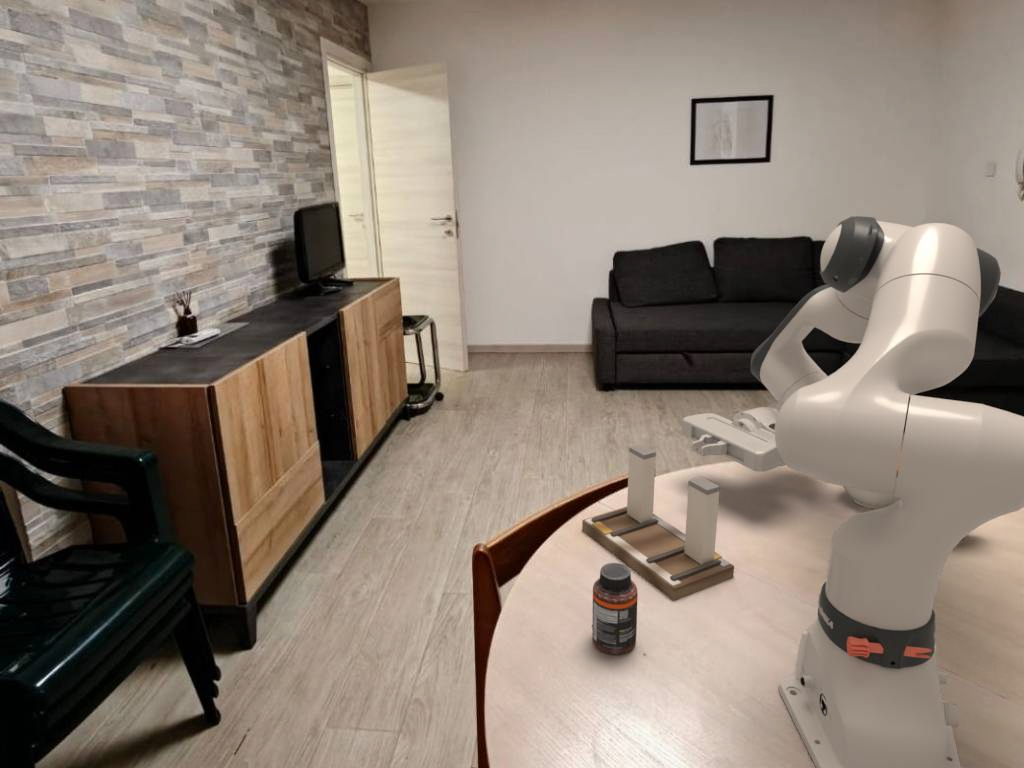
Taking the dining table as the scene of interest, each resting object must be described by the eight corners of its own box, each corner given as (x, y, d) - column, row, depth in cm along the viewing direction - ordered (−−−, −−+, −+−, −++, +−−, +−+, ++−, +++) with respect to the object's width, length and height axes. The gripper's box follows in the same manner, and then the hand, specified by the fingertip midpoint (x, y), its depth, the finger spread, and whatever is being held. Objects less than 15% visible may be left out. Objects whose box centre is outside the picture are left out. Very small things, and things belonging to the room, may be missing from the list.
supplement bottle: (609, 622, 103) (611, 552, 100) (644, 641, 99) (648, 569, 96) (583, 643, 99) (584, 571, 96) (618, 663, 95) (621, 588, 92)
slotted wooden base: (733, 577, 113) (734, 562, 113) (673, 600, 108) (674, 585, 107) (636, 513, 133) (637, 500, 133) (582, 530, 128) (582, 517, 127)
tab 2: (713, 560, 114) (719, 486, 110) (701, 564, 113) (707, 490, 109) (696, 548, 117) (701, 476, 113) (684, 553, 116) (688, 480, 112)
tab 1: (652, 519, 127) (655, 452, 123) (641, 523, 125) (644, 455, 121) (638, 510, 130) (640, 444, 126) (627, 513, 129) (629, 447, 125)
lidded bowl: (913, 495, 138) (922, 441, 135) (905, 523, 128) (915, 466, 125) (842, 479, 145) (849, 428, 141) (829, 505, 135) (836, 450, 131)
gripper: (714, 401, 144) (659, 415, 138) (798, 435, 127) (739, 453, 121) (712, 430, 146) (658, 445, 140) (794, 468, 129) (737, 487, 123)
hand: (696, 449), depth 130 cm, fingers closed
